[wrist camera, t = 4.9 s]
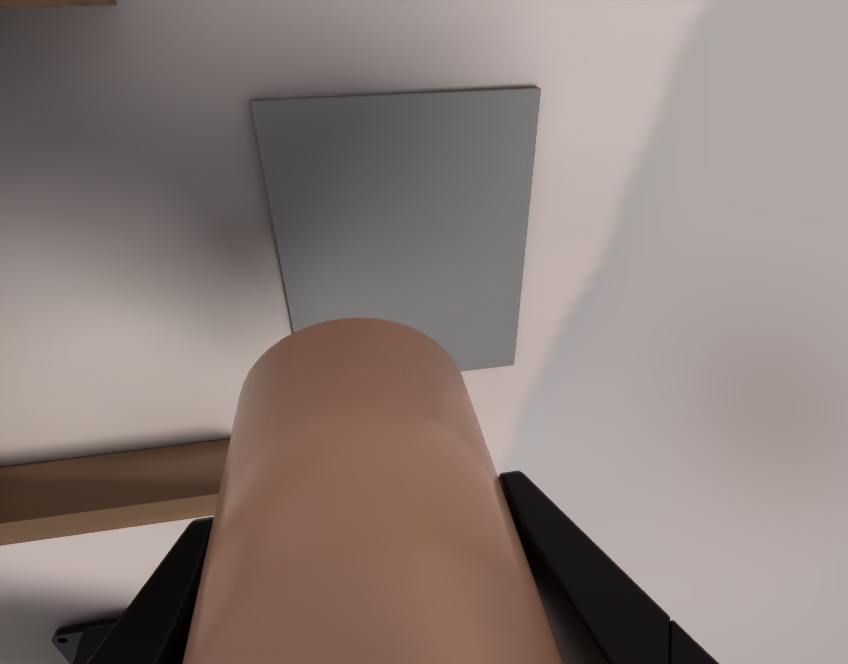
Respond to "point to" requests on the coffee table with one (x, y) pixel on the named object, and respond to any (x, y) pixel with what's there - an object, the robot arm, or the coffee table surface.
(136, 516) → the holder
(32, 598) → the coffee table surface
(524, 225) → the mat
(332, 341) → the popsicle on stick
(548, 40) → the coffee table surface
